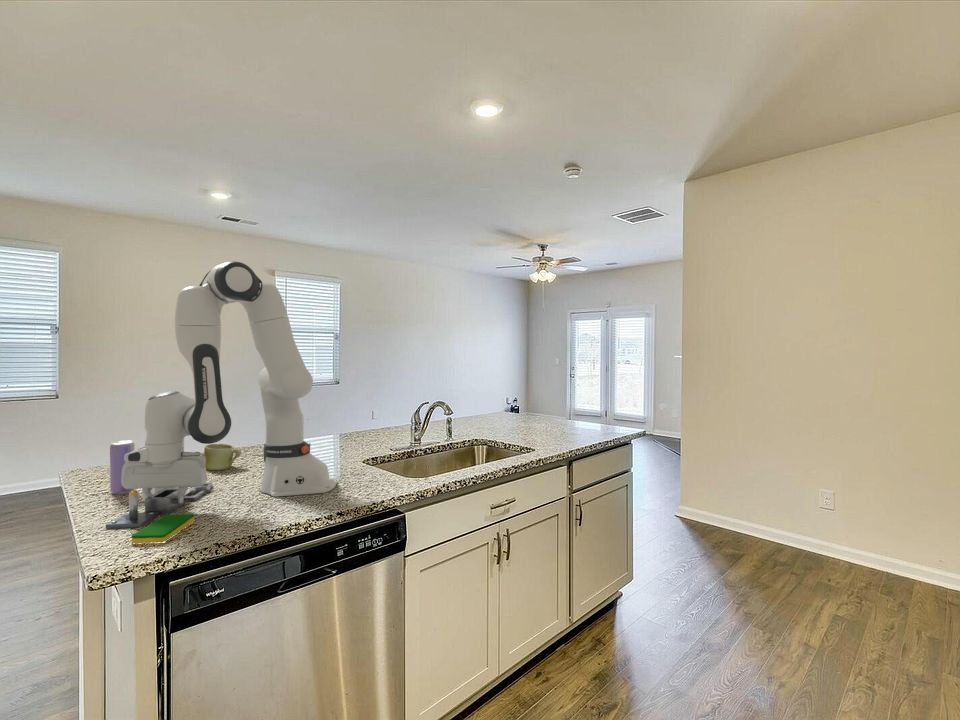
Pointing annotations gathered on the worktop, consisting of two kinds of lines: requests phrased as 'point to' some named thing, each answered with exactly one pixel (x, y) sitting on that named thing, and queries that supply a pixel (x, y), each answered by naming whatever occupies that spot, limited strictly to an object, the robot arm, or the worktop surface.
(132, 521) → the keeper
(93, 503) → the worktop surface
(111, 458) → the beverage can
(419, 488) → the worktop surface
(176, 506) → the link
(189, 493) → the chain tail
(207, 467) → the mug
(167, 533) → the dish sponge
